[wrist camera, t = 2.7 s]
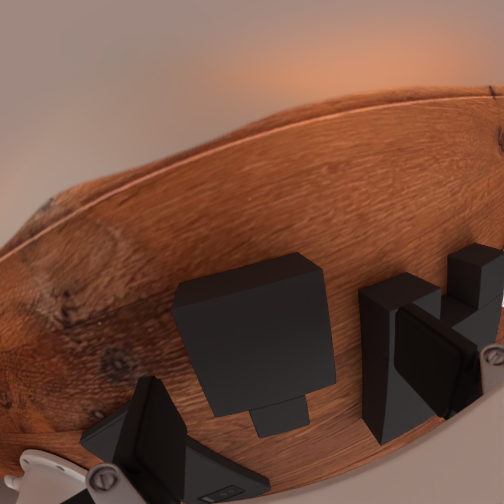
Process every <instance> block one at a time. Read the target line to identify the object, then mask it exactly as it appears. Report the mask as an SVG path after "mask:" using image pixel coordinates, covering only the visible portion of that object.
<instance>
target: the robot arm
mask: <svg viewBox="0 0 504 504" xmlns="http://www.w3.org/2000/svg"><path fill="white" fill-rule="evenodd" d="M477 348H478V346H477V345H476V344H475V343H473V342H472V341H470V340H469V339H467V338H466V337H464V336H463V335H461V334H460V333H458V332H457V331H456V330H454V329H453V328H451V327H450V326H448V325H447V324H445V323H444V322H442V321H440V320H439V319H437V318H436V317H434V316H433V315H431V314H430V313H428V312H427V311H425V310H424V309H422V308H421V307H419V306H417V305H416V304H414V303H412V302H409V303H407V304H405V305H402V306H400V307H399V308H398V311H397V312H396V313H395V343H394V368H395V370H396V371H397V372H398V373H399V374H400V376H401V377H402V378H403V379H404V380H405V381H406V382H407V383H408V384H409V385H410V386H411V387H412V388H413V389H414V391H415V392H416V393H417V394H418V395H419V396H420V397H421V398H422V399H423V400H424V401H425V403H426V404H427V405H428V406H429V407H430V408H431V409H432V410H433V411H434V412H435V413H436V415H437V416H438V417H440V418H442V417H443V418H444V419H445V420H446V421H445V422H444V423H442V424H441V425H439V426H438V427H436V428H435V429H433V430H431V431H430V432H428V433H426V434H425V435H423V436H421V437H419V438H418V439H416V440H414V441H412V442H411V443H409V444H407V445H405V446H403V447H401V448H399V449H397V450H395V451H393V452H391V453H389V454H387V455H385V456H383V457H381V458H379V459H376V460H374V461H372V462H370V463H367V464H365V465H363V466H360V467H358V468H356V469H353V470H350V471H348V472H345V473H343V474H340V475H337V476H334V477H332V478H329V479H326V480H323V481H320V482H316V483H313V484H310V485H306V486H303V487H299V488H296V489H292V490H288V491H284V492H280V493H276V494H271V495H267V496H262V497H256V498H251V499H245V500H239V501H232V502H224V503H216V504H504V345H502V344H496V343H493V344H489V345H487V346H485V347H484V348H482V350H481V351H480V352H479V351H478V350H477ZM186 444H187V428H186V425H185V423H184V421H183V419H182V418H181V416H180V414H179V412H178V411H177V409H176V407H175V405H174V403H173V402H172V400H171V398H170V396H169V394H168V392H167V390H166V388H165V386H164V385H163V383H162V381H161V379H156V377H155V376H147V377H140V378H139V380H138V383H137V386H136V389H135V392H134V395H133V398H132V401H131V404H130V407H129V410H128V412H127V414H126V416H125V419H124V422H123V425H122V428H121V432H120V435H119V438H118V442H117V445H116V449H115V452H114V456H113V460H112V463H108V462H104V463H99V464H97V465H95V466H93V467H92V468H91V469H90V470H89V471H87V470H85V469H83V468H81V467H79V466H78V465H76V464H74V463H71V462H69V461H67V460H65V459H63V458H60V457H58V456H56V455H53V454H50V453H47V452H44V451H40V450H33V449H29V450H25V451H24V452H23V453H22V455H21V457H20V464H21V467H22V469H23V470H24V472H25V474H24V476H23V477H19V478H18V477H15V476H12V475H9V474H7V475H5V477H4V481H5V483H6V485H7V486H8V487H10V488H13V489H15V490H18V491H19V492H20V495H19V497H18V500H17V502H16V504H180V500H183V499H184V494H185V464H186Z"/></svg>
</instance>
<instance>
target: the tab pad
mask: <svg viewBox="0 0 504 504" xmlns="http://www.w3.org/2000/svg"><path fill="white" fill-rule="evenodd" d="M171 311H172V314H173V317H174V320H175V322H176V325H177V328H178V330H179V333H180V336H181V338H182V341H183V343H184V346H185V349H186V351H187V354H188V356H189V359H190V361H191V363H192V366H193V368H194V371H195V373H196V375H197V378H198V380H199V382H200V385H201V387H202V389H203V392H204V394H205V396H206V398H207V400H208V403H209V405H210V407H211V409H212V411H213V413H214V415H215V417H222V416H227V415H231V414H236V413H240V412H244V411H249V413H250V416H251V418H252V421H253V424H254V426H255V429H256V432H257V434H258V437H259V438H265V437H269V436H272V435H276V434H280V433H283V432H287V431H290V430H293V429H297V428H300V427H303V426H306V425H309V424H310V420H309V415H308V409H307V403H306V397H305V394H308V393H311V392H314V391H316V390H319V389H322V388H325V387H328V386H330V385H333V384H336V374H335V363H334V354H333V344H332V336H331V327H330V319H329V312H328V304H327V297H326V290H325V283H324V277H323V270H322V268H320V267H319V266H317V265H316V264H314V263H313V262H311V261H310V260H308V259H307V258H305V257H304V256H303V255H301V254H300V253H298V252H297V253H293V254H290V255H286V256H282V257H278V258H275V259H271V260H267V261H263V262H259V263H256V264H252V265H248V266H244V267H240V268H237V269H233V270H229V271H225V272H221V273H217V274H213V275H210V276H206V277H202V278H198V279H194V280H190V281H186V282H182V283H179V286H178V289H177V292H176V295H175V298H174V301H173V304H172V307H171Z"/></svg>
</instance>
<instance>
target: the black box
mask: <svg viewBox="0 0 504 504" xmlns="http://www.w3.org/2000/svg"><path fill="white" fill-rule="evenodd" d="M358 293H359V304H360V317H361V333H362V335H361V336H362V360H363V416H362V419H363V420H364V422H365V423H366V425H367V426H368V428H369V429H370V431H371V432H372V434H373V435H374V436H375V438H376V439H377V441H378V442H379V444H380V445H383V444H385V443H387V442H389V441H391V440H393V439H395V438H397V437H399V436H401V435H402V434H404V433H406V432H408V431H410V430H411V429H413V428H415V427H416V426H418V425H420V424H421V423H423V422H425V421H426V420H428V419H430V418H431V417H433V416H434V415H436V413H435V412H434V411H433V410H432V409H431V408H430V407H429V406H428V405H427V404H426V403H425V401H424V400H423V399H422V398H421V397H420V396H419V395H418V394H417V393H416V392H415V391H414V389H413V388H412V387H411V386H410V385H409V384H408V383H407V382H406V381H405V380H404V379H403V378H402V377H401V376H400V374H399V373H398V372H397V371H396V370H395V368H394V343H395V313H396V312H397V311H398V308H399V307H400V306H402V305H405V304H407V303H409V302H412V303H414V304H416V305H417V306H419V307H421V308H422V309H424V310H425V311H427V312H428V313H430V314H431V315H433V316H434V317H436V318H437V319H439V320H440V321H442V322H444V323H445V324H447V325H448V326H450V327H451V328H453V329H454V330H456V331H457V332H458V333H460V334H461V335H463V336H464V337H466V338H467V339H469V340H470V341H472V342H473V343H475V344H476V345H477V346H478V348H477V350H478V351H479V352H480V351H481V350H482V348H484V347H485V346H487V345H489V344H493V343H495V341H496V336H497V331H498V326H499V321H500V316H501V310H502V303H503V296H504V251H503V250H499V249H496V248H492V247H488V246H485V245H481V244H477V243H475V244H473V245H471V246H469V247H466V248H464V249H462V250H460V251H457V252H455V253H453V254H450V255H448V290H447V295H446V296H445V297H443V298H441V288H440V287H438V286H436V285H434V284H432V283H430V282H427V281H425V280H423V279H421V278H419V277H416V276H414V275H412V274H410V273H407V272H406V273H404V274H401V275H399V276H396V277H393V278H391V279H388V280H385V281H382V282H380V283H377V284H374V285H371V286H369V287H366V288H363V289H360V290H358Z"/></svg>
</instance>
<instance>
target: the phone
mask: <svg viewBox="0 0 504 504" xmlns="http://www.w3.org/2000/svg"><path fill="white" fill-rule="evenodd" d="M131 401H132V400H131ZM131 401H129V402H128V403H126V404H125V405H123V406H122V407H121V408H119V409H118V410H116V411H115V412H113V413H112V414H110V415H109V416H108V417H106V418H105V419H103V420H102V421H100V422H99V423H97V424H96V425H94V426H93V427H91V428H90V429H88V430H87V431H85V432H84V433H83V434H82V436H81V439H80V441H79V443H80V444H81V445H82V446H83V447H84V448H85V449H87V450H88V451H90V452H91V453H92V454H94V455H95V456H97V457H98V458H100V459H101V460H103V461H105V462H108V463H112V460H113V456H114V452H115V449H116V445H117V442H118V438H119V435H120V432H121V428H122V425H123V422H124V419H125V416H126V414H127V412H128V410H129V407H130V404H131ZM270 490H271V487H270V483H269V480H268V479H267V478H265V477H262V476H260V475H258V474H256V473H254V472H251V471H249V470H247V469H245V468H243V467H241V466H239V465H237V464H235V463H233V462H231V461H229V460H227V459H226V458H224V457H222V456H220V455H218V454H216V453H215V452H213V451H211V450H209V449H208V448H206V447H204V446H203V445H201V444H199V443H198V442H196V441H194V440H193V439H191V438H189V437H188V436H187V444H186V464H185V494H184V499H183V500H180V501H181V502H183V503H186V504H216V503H224V502H232V501H239V500H245V499H251V498H254V497H256V496H258V495H261V494H263V493H265V492H267V491H270Z"/></svg>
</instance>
